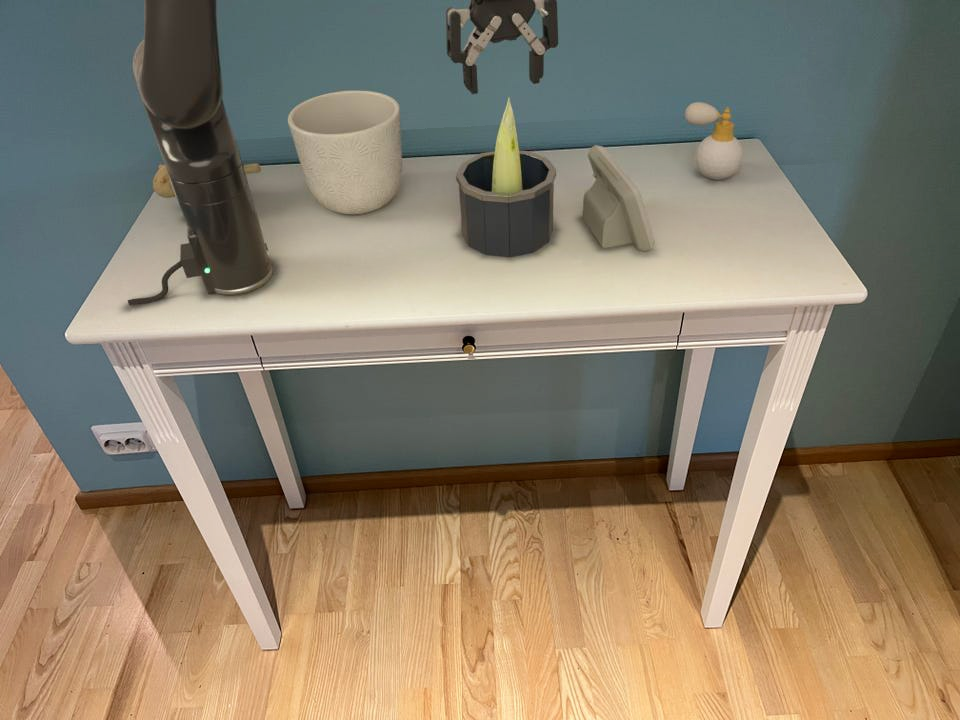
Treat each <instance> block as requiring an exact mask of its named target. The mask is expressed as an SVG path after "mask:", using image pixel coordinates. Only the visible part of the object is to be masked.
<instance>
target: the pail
mask: <svg viewBox="0 0 960 720" xmlns="http://www.w3.org/2000/svg"><path fill="white" fill-rule="evenodd" d="M494 155H495V150H494V151H488V152H481V153H478V154H477V155H474V156H472V157H471V158H469V159H467V160H465V161H463V162H462V163H461V164H460V166H459V167H458V170H457V172H456V173H455V180H456V182H457V184H458V190H459V191H458V193H459V195H458V196H459V207H460V221H461V222H460V223H461V235H462V238H463V239H464V241H465V243H466V244H467V246H468V247H469V248H470V249H473V250H474V251H477V252H479V253H481V254H483V255H485V256H492V257H501V258H514V257H515V258H516V257H520V256H524V255H529V254H533V253H535V252H536V251H538V250H540V249H542V247H544V246H546V245H548V244H549V242H550V240H551V237H552V233H553V230H554V197H555V196H554V192H555V191H554V190H555V180H556V177H557V168H556V167H555V166H554V165H553V163H552V162H551V161H550V160H549V158H548V157H545V156H542V155H541V154H540V155H539V154H537V153H534V152H531V151H528V150H519V155H520V165H521V176H522V191H517V192H511V193H501V192H492V177H493V164H494Z"/></svg>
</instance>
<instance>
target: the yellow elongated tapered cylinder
mask: <svg viewBox="0 0 960 720" xmlns="http://www.w3.org/2000/svg"><path fill="white" fill-rule="evenodd" d="M519 148H520V147H519V140H518V133H517V126H516V121H515V116H514V110H513V107H512V104H511V99H510V96H509V97H508V98H507V102H506V106H505V109H504V112H503V115H502V117H501V122H500V125H499V128H498V132H497V136H496V140H495V148H494V151H495V155H494V164H493V177H492V192H501V193H511V192H517V191H522V176H521V165H520V155H519V151H520V149H519Z"/></svg>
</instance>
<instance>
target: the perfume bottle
mask: <svg viewBox="0 0 960 720" xmlns="http://www.w3.org/2000/svg"><path fill="white" fill-rule="evenodd" d="M730 112H731V109H730V107H729V106H727V107H726V108H725V109H724V112H723V113H722V114H721V113H720V112H719V111H718V109H717V108H716V107H714V106H713V105H710V104H709V103H706V102H701V101H696V102H692V103H690V104H689V105H688V106H687V107H686V109H685V111H684V118H685V120H686V122H687V123H689V124H690V125H693V126H706V125H709V124H712V123H714V122H715V121H716V122H715V123H714V129H713V132H712V134H710V135H708V136H707V137H705V138H704V139H703V140H702V141H701V142H700V143H699V145H698V146H697V148H696V150H695V151H696V152H695V154H694V155H695V156H694V157H695V158H694V159H695V160H694V163H695V166H696V169H697V170H698V172H700V174H701V175H702V176H704V177H705V178H708V179H710V180H716V181H720V180H726V179H728V178H730V177H732V176H733V175H734V174H736V173H737V172H738V170H739V169H740V168H741V165H742V162H743V160H744V150H743V147H742V144H741V142H740V141H739V140H738V139H737V137H735V136H734V128H735V124H734V122H733V121H732V122H731V121H729V120H731V118H732V113H730ZM720 118H721V119H722V120H718V119H720ZM717 120H718V121H717Z"/></svg>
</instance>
